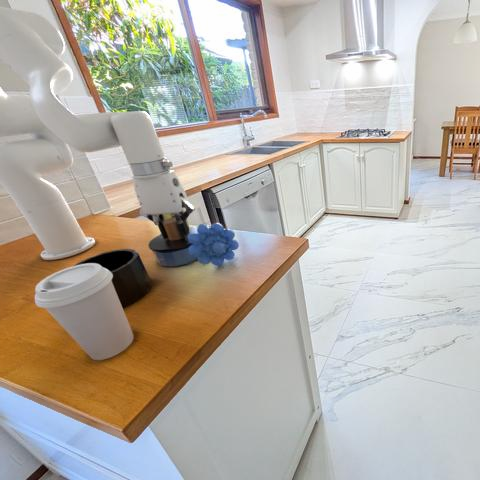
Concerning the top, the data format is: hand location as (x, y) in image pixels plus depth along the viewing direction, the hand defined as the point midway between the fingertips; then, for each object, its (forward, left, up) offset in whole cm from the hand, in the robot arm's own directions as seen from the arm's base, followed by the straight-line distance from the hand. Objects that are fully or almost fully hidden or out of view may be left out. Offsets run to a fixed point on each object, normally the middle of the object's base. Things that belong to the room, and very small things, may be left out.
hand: (176, 235), depth 77 cm
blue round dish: (0, 0, -6) cm, 6 cm away
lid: (0, 0, -1) cm, 1 cm away
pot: (0, -18, -6) cm, 19 cm away
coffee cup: (+14, -29, -6) cm, 33 cm away
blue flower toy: (+15, -2, -6) cm, 16 cm away
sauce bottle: (-12, +10, -6) cm, 17 cm away
